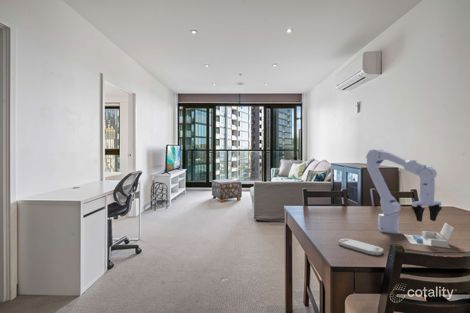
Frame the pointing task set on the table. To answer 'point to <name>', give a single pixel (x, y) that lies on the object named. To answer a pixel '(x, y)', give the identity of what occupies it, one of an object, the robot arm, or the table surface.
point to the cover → (446, 231)
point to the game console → (361, 246)
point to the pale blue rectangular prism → (417, 238)
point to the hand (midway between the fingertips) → (426, 220)
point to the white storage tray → (430, 239)
